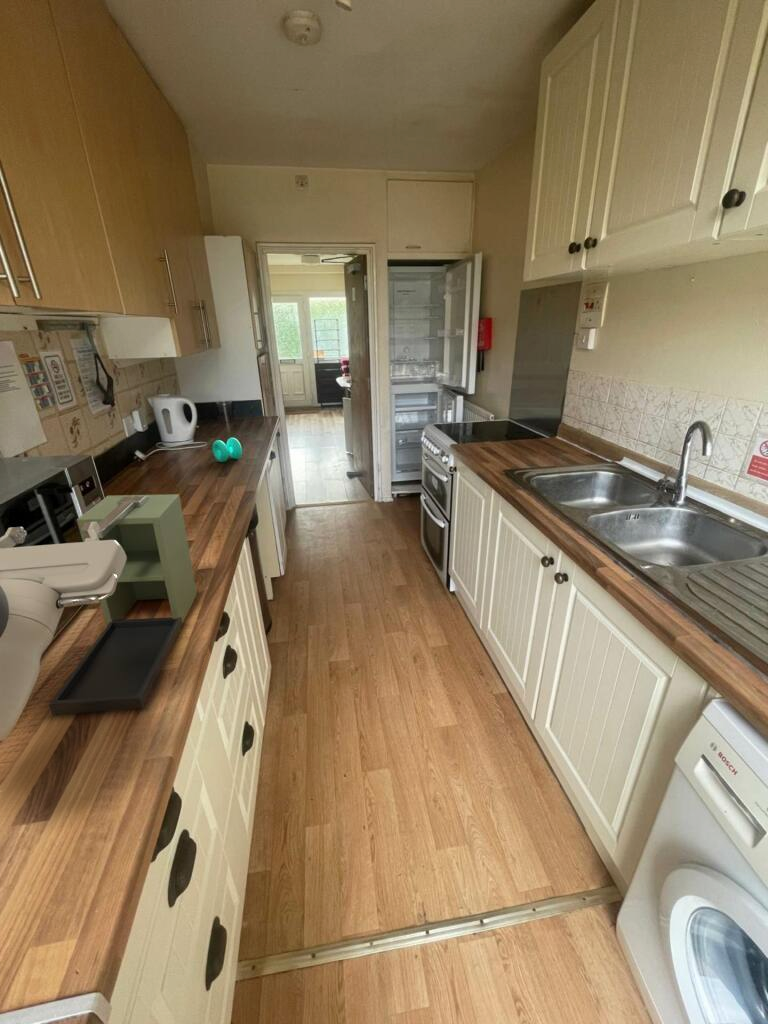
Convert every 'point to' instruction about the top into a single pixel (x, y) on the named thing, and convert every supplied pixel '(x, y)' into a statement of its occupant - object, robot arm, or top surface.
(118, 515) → the fork
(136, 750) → the top surface
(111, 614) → the shelf
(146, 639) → the tray
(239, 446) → the turquoise spool
